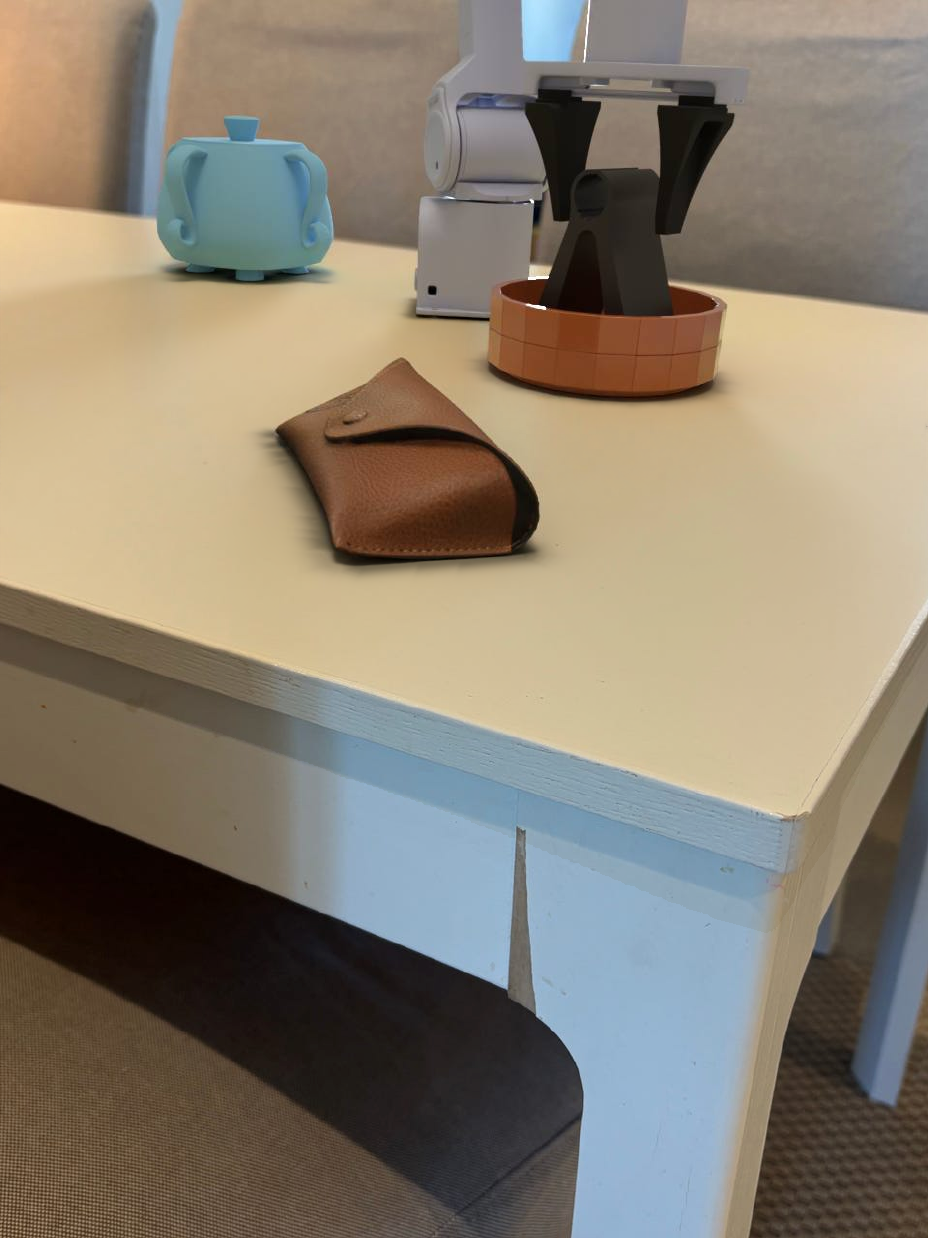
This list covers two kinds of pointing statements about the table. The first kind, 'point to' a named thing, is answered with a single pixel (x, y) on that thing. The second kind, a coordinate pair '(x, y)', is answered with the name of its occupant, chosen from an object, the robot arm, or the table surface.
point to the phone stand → (611, 248)
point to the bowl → (605, 343)
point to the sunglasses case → (411, 473)
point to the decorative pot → (244, 203)
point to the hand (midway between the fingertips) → (615, 226)
